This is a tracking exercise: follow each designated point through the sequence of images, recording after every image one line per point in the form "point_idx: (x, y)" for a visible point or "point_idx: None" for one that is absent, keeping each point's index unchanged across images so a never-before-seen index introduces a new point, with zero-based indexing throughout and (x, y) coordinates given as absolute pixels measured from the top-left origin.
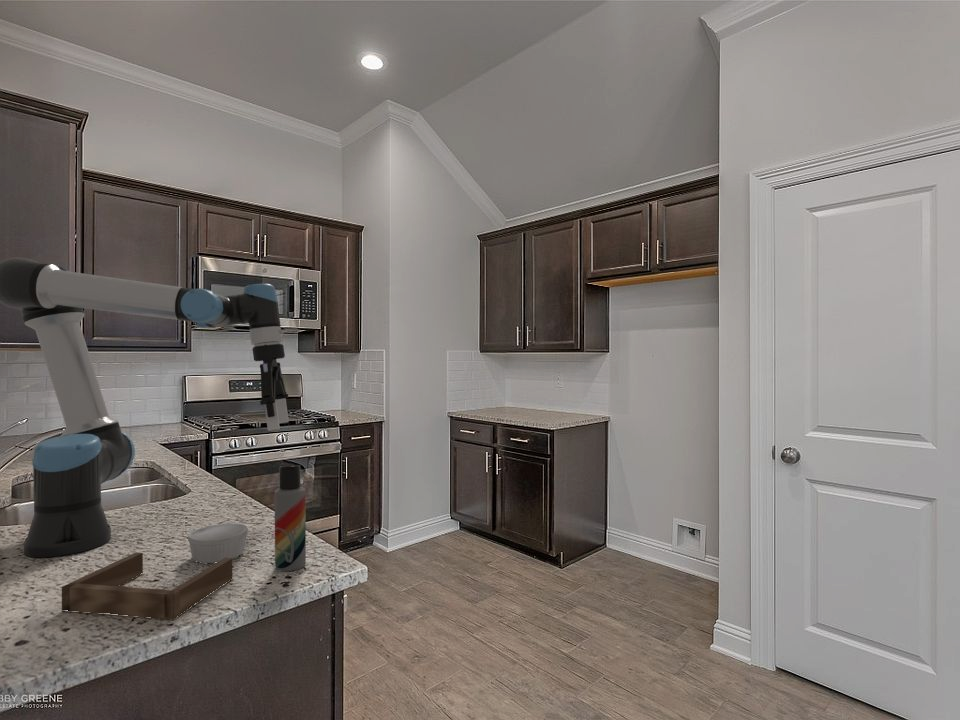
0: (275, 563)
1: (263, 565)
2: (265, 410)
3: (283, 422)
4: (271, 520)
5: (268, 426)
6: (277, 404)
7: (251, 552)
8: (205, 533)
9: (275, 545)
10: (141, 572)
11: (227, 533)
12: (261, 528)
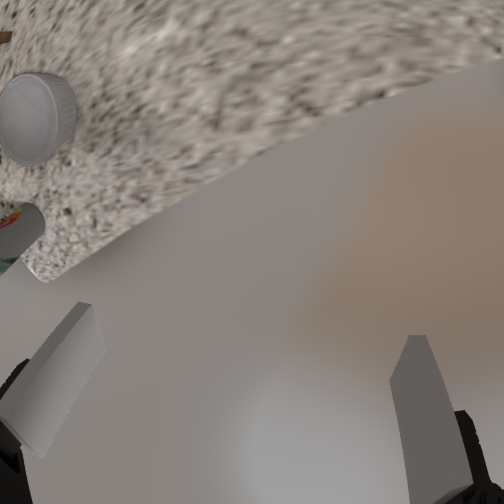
0: (19, 207)
1: (30, 186)
2: (14, 384)
3: (399, 363)
4: (234, 148)
5: (68, 321)
6: (434, 459)
7: (62, 156)
8: (15, 104)
9: (4, 219)
10: (7, 41)
11: (16, 142)
12: (176, 138)
